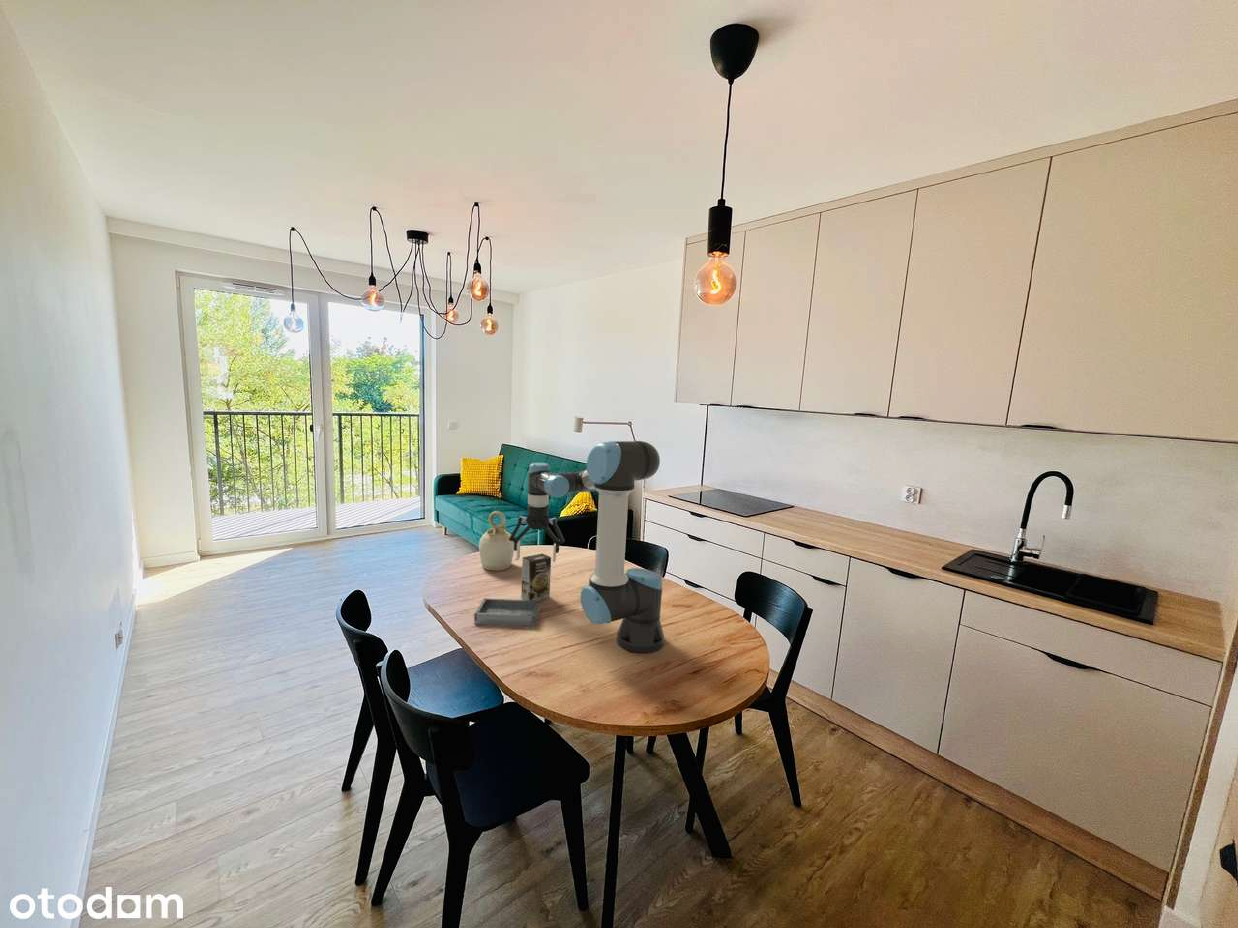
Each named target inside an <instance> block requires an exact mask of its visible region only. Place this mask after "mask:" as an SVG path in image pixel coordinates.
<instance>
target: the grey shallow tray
mask: <svg viewBox="0 0 1238 928" xmlns="http://www.w3.org/2000/svg"><path fill="white" fill-rule="evenodd" d="M540 610H541V600H539V601H536V600H524V599H511V598H510V599H508V598H507V599H506V598H486V597H485V598H484V597H483V599H482V601H481V602H480V604H479V605H478V607H477V609H476V611H475V612H474V614H473V622H474V623H473V624H474V625H490V626H491V625H495V626H497V625H498V626H515V627H516V626H519V627H520V626H522V627H535V625H536V622H537V619H538V616H539V615H540Z"/></svg>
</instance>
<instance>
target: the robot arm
mask: <svg viewBox="0 0 1238 928" xmlns="http://www.w3.org/2000/svg"><path fill="white" fill-rule="evenodd" d="M660 463H661V459H660V454H659V452H658V450H657V449H656V447H654V445H653V444H651V443H649V442H647V441H642V440H631V441H628V440H627V441H626V440H622V441H616V440H615V441H613V440H609V441H603V442H602V441H601V442H600V443H597V444H595V445H594V446H593V448H592V449H591V450H590V452H589V454H588V456H587V460H586V469H584V470H581V471H570V472H551V469H550V468H551V467H550V464H549V463H546V462H533V463H531V464H530V465H529V468H528V474H527V475H528V490H527V492H528V493H527V504H528V505H527V517H526V516H525V517H524V516H523V515H520V516H519V518H518V519H517V520H518V521H517V524H516V526H515V527H514V530H513V531H512V533H511V537H510V538H509V540H510V541H513V542H514V552H516V559H515V560H516V561H519V560H520V558H521V539H522V538H523V537H524V536H525V535H526V534H527V533H528V531H530V530H533V531H534V530H538V531H542V530H543V531H544V532H545V533H546V534H547V535H548V536H549V538H550V539H551V540H552V541H553V543H554V544H553V552H552V553H553V555H552V556H553V557H552V562H553V563H555V562H556V560H557V554H559V552H560V545H562V544H564V543H565V538H564V536H563V534H562V532H561V529H560V527H559V525H558V522H557V520H558V519H557V517H553V518H549V504H550V503H549V502H550V499H549V498H550V496H551V497H555V498H561V497H563V496H565V495H567V494H575V493H591V492H594V491H597V493H598V503H597V505H598V508H597V525H596V543H595V544H596V545H595V567H594V571H592V573H591V574H589V581H588V582H589V583H588V585H584V587H583V588H582V589H581V591H580V604H581V607H582V610H583V612H584V615H585V617H586V618H587V619H588V620H589V621H590V622H591V623H592V624H594V625H597V626H599V625H600V626H601V625H604V624H610V623H612V622H616V621H619V620H621V622H620V625H619V627H618V629H617V632H616V643H617V644H618V646H620V647H621V648H623V649H624V650H625V651H626V650H627V651H630V652H632V653H638V654H648V653H654V652H658V651H659V650H660V649H662V648H663V647H664V645H665V633H664V630H663V627H662V622H661V606H662V595H663V579H662V576H661V575H660V574H658V573H657V572H654V571H652V570H650V569H645V568H636V567H634V568H628V569H627V570H626V572H625V557H626V555H625V554H626V540H627V524H628V510H629V509H628V508H629V495H630V494H631V493H632V492H633V491H634V490H635V481H643V480H647V479H649V478H651V477H653V476H654V475H655V474H656V473H657V471H658V470H659V467H660ZM525 522H526V523H527V524H528V525H526V527H525V528H524V529H523V530H522V531H521V532H520V533H519V534H518V535H517V536H516V534H517V532H518V531H519V529H520V527H521V526H522V524H523V523H525ZM549 523H550V525H552V526H553V529H554V531H555V532H553V531H552V529H551V528H550V527H549V525H548V524H549ZM554 533H556V535H557V536H556V535H555V534H554ZM515 536H516V537H515Z"/></svg>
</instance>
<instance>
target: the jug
mask: <svg viewBox="0 0 1238 928" xmlns="http://www.w3.org/2000/svg"><path fill="white" fill-rule="evenodd" d="M495 515H496V516H498V517H500V520H501V523H500V524H496V523H495V522H494V516H495ZM506 521H507V520H506V516H505V515H504V513H503V512H501V511H499V510H494V511H492V512H491V513H490V515H489V517H488V523H489V524H490V525H489V526H491V528H488V529H487V530H486V531H485V533H483V534H482V535H481V537H480V540H479V542H478V552H479V557H480V562H481V567H482V568H483V569H484V570H488V571H497V572H498V571H504V570H506V569H508V568H510V567H511V564H512V563H513V557H514V554H515V551H514V542H513V541H510V540H509V538H510V537H511V535H512V533H510V532H509V531H507V530H506V529H507V526H506Z"/></svg>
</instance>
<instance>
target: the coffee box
mask: <svg viewBox="0 0 1238 928" xmlns="http://www.w3.org/2000/svg"><path fill="white" fill-rule="evenodd" d="M521 563H522V566H521V567H522V568H521V569H522V571H521V574H522V575H521V591H520V593H521V595H520V598H521V599H522V600H536V601H543V600H546V599H549V598H550V597H551V594H550V593H551V573H552V570H551V567H552V557H551V556H549V555H547V554H544V553H543V552H542V553H538V554H532V555H527V556H523V557H522V562H521Z"/></svg>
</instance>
